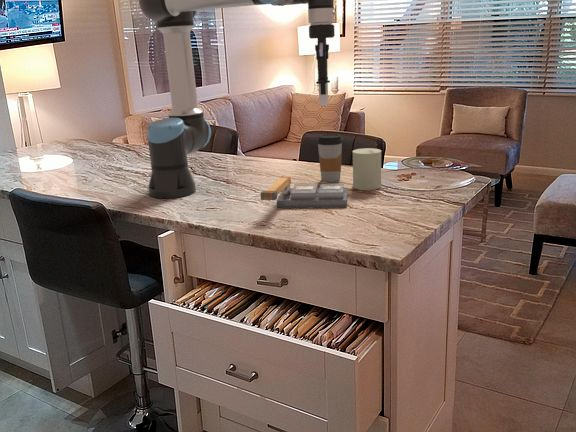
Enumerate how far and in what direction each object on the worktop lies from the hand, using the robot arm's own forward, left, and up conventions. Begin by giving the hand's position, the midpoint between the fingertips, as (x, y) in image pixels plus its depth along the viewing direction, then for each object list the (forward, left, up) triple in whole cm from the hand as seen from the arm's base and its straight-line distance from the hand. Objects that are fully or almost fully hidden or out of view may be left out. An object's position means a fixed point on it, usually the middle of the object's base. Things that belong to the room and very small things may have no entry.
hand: (323, 105), depth 181 cm
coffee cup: (+1, +11, -27) cm, 29 cm away
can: (+13, +2, -27) cm, 30 cm away
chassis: (-3, -14, -26) cm, 30 cm away
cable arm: (-12, -22, -21) cm, 33 cm away
